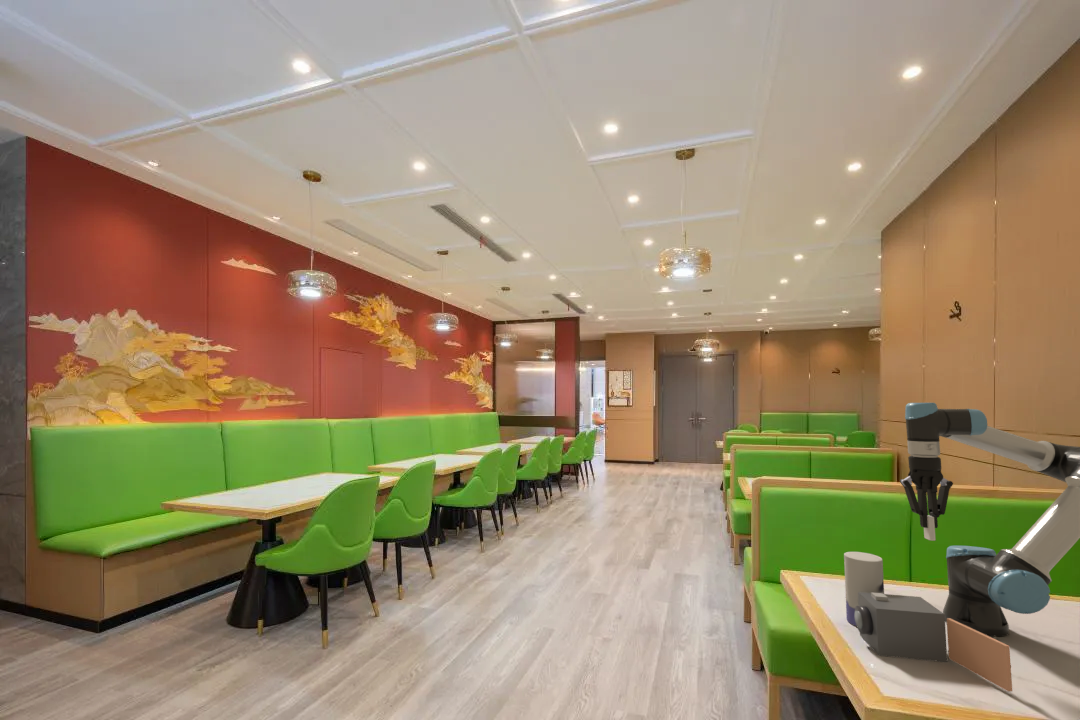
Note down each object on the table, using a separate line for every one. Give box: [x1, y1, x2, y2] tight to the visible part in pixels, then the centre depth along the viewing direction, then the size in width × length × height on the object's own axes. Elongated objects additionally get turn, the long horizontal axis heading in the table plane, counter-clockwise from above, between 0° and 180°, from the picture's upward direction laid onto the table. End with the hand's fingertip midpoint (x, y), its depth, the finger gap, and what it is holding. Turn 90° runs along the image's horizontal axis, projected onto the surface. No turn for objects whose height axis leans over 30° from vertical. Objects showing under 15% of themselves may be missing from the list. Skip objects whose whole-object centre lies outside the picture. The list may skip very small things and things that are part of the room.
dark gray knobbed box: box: [855, 592, 948, 663], centre depth 139 cm, size 18×12×13 cm, turn 78°
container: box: [843, 551, 885, 627], centre depth 154 cm, size 10×10×20 cm
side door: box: [946, 618, 1013, 692], centre depth 124 cm, size 15×2×10 cm, turn 6°
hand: (929, 539), depth 144 cm, fingers closed
